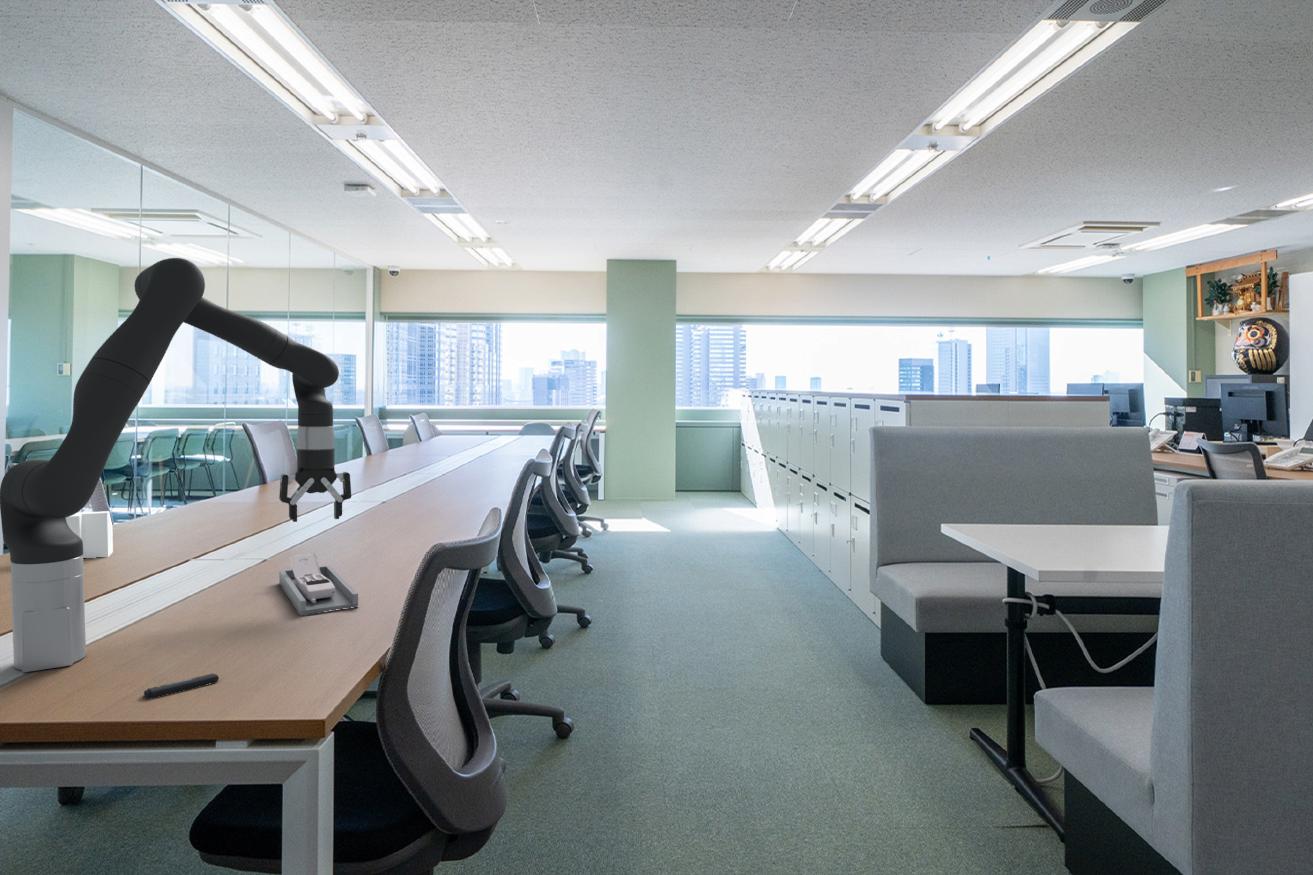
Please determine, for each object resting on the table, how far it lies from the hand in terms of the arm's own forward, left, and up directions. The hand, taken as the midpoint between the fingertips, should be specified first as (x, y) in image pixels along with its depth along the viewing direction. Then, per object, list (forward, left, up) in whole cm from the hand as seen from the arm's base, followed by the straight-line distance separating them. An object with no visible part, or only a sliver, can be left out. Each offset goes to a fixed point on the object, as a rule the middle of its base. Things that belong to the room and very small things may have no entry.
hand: (316, 520), depth 163 cm
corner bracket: (+70, +45, -17) cm, 85 cm away
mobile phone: (0, +1, -16) cm, 16 cm away
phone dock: (0, 0, -17) cm, 17 cm away
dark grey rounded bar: (-45, +26, -17) cm, 55 cm away
